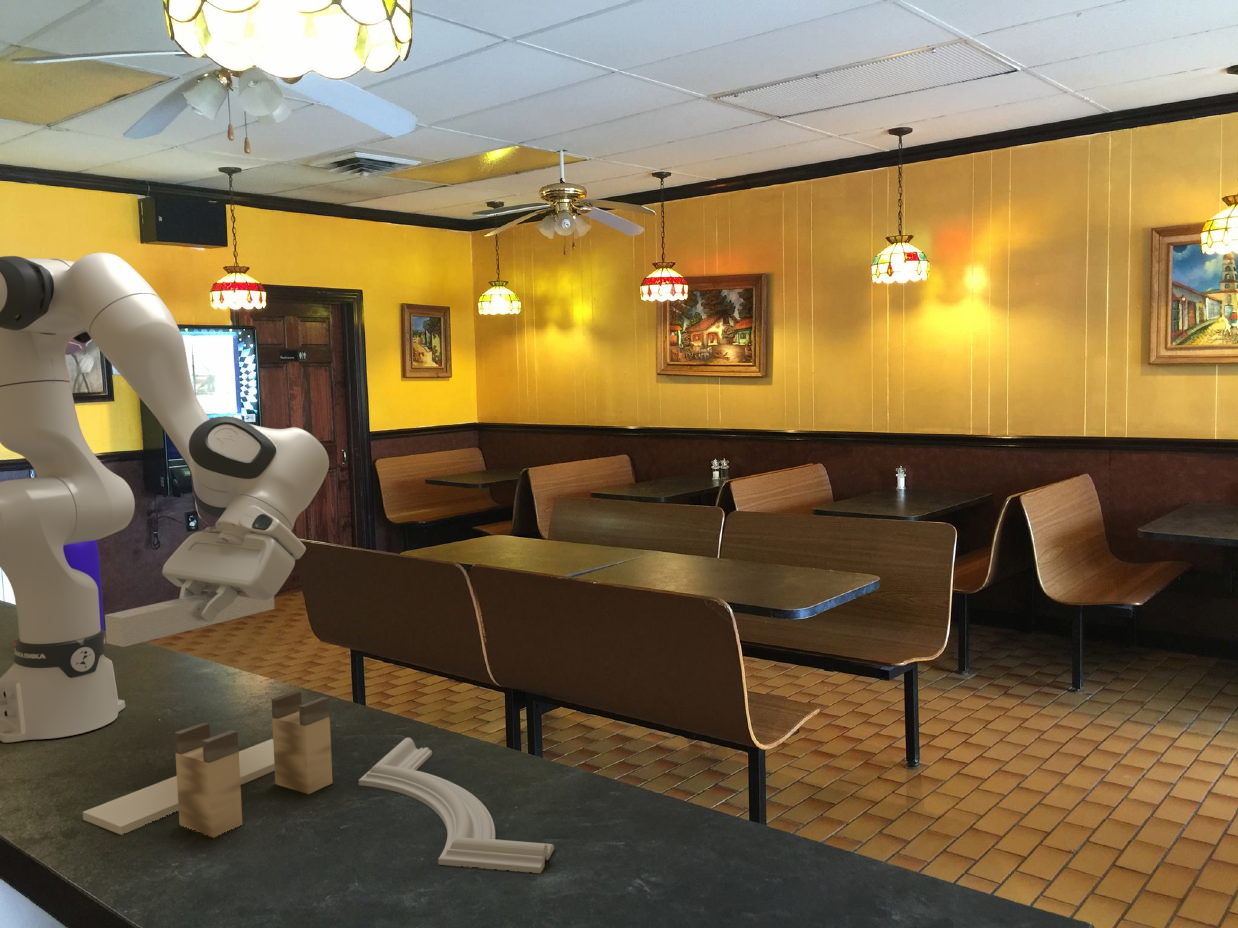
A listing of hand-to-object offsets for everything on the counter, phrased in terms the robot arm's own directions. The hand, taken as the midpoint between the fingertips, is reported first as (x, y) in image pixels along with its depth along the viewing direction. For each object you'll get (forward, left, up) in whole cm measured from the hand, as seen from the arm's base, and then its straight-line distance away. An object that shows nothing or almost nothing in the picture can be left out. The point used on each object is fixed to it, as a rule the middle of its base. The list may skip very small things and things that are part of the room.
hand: (191, 616), depth 129 cm
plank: (0, +1, -23) cm, 23 cm away
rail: (0, +1, -1) cm, 1 cm away
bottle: (-76, +28, -23) cm, 84 cm away
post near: (+11, -6, -23) cm, 26 cm away
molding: (+33, +13, -23) cm, 43 cm away
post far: (+11, +8, -23) cm, 26 cm away
